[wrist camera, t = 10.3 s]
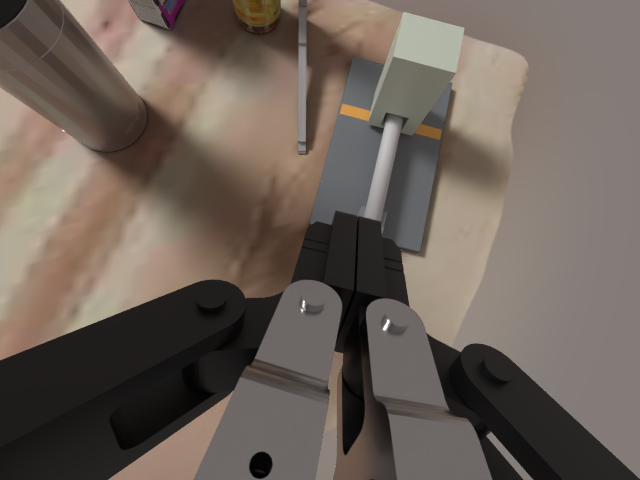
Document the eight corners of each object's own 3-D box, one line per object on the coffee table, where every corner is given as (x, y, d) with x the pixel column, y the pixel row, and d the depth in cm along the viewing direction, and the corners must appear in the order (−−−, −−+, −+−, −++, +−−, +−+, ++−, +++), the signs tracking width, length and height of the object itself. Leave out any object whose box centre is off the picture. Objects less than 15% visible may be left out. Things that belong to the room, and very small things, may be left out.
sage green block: (367, 124, 40) (393, 56, 28) (375, 90, 41) (403, 12, 29) (412, 135, 40) (456, 73, 28) (419, 102, 41) (464, 28, 29)
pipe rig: (309, 224, 38) (309, 216, 34) (351, 62, 43) (357, 36, 38) (416, 252, 39) (431, 247, 34) (448, 87, 43) (465, 64, 39)
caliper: (298, 20, 44) (297, -25, 38) (306, 20, 44) (306, -24, 38) (298, 155, 40) (297, 130, 34) (306, 155, 40) (306, 130, 34)
